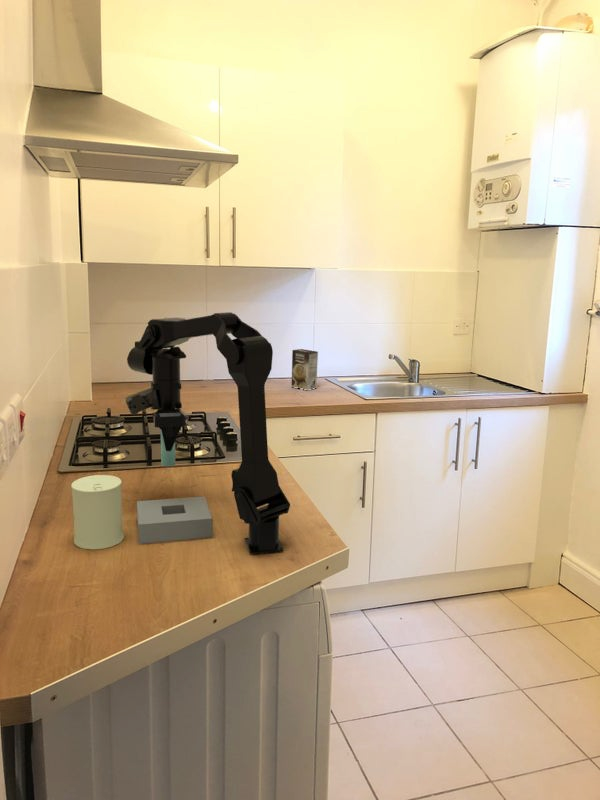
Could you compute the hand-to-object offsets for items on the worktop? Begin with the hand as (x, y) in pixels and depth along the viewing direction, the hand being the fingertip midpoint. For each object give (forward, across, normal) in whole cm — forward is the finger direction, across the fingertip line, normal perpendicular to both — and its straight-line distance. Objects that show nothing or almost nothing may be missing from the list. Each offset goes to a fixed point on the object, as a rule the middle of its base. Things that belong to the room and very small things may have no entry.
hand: (168, 448), depth 139 cm
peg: (+4, 0, 0) cm, 4 cm away
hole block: (+13, +13, 0) cm, 18 cm away
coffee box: (+13, -118, +64) cm, 135 cm away
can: (+13, +15, -14) cm, 25 cm away
